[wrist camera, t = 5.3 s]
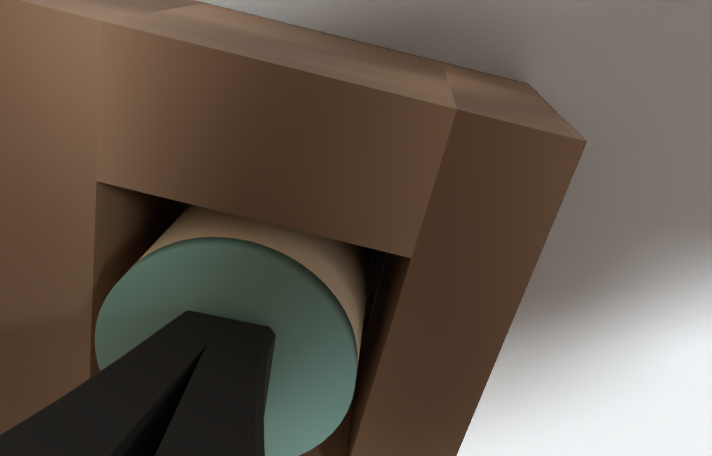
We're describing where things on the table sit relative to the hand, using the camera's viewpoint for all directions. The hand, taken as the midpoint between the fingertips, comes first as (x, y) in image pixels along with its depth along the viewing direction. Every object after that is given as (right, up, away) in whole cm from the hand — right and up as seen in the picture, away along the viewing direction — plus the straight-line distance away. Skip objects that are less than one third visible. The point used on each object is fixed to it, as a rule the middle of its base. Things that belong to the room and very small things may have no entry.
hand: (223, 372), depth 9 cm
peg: (0, +2, +4) cm, 4 cm away
